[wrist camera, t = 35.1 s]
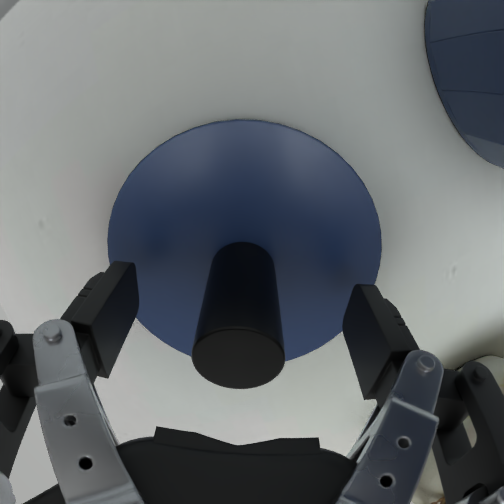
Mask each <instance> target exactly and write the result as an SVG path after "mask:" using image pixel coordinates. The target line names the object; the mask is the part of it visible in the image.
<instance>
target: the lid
mask: <svg viewBox="0 0 504 504" xmlns="http://www.w3.org/2000/svg"><path fill="white" fill-rule="evenodd" d="M107 242H108V257H109V262H110V265H111V264H112V262H113V261H124V262H133V263H134V264H135V266H136V273H137V282H138V291H139V309H138V313H137V316H136V318H137V319H138V320H139V321H140V323H141V324H142V325H143V326H144V327H146V328H147V329H148V330H149V331H150V332H151V333H152V334H153V335H155V336H156V337H157V338H159V339H160V340H161V341H163V342H164V343H166V344H168V345H169V346H171V347H173V348H174V349H176V350H178V351H180V352H182V353H185V354H187V355H189V356H191V357H192V362H193V364H194V366H195V368H196V370H197V371H198V372H199V373H200V374H201V375H202V376H203V377H204V378H205V379H207V380H208V381H210V382H212V383H214V384H217V385H219V386H223V387H227V388H233V389H248V388H254V387H258V386H261V385H264V384H266V383H268V382H270V381H271V380H273V379H274V378H275V377H276V376H278V374H279V373H280V372H281V370H282V369H283V367H284V364H285V361H288V360H292V359H295V358H297V357H300V356H303V355H305V354H307V353H309V352H311V351H313V350H315V349H317V348H319V347H321V346H322V345H324V344H325V343H327V342H329V341H330V340H332V339H333V338H334V337H335V336H337V335H338V334H339V333H340V332H341V331H343V329H342V323H343V317H344V314H345V311H346V308H347V305H348V302H349V299H350V296H351V293H352V290H353V287H354V286H355V284H368V285H374V284H375V281H376V278H377V274H378V270H379V266H380V259H381V250H382V247H381V230H380V224H379V219H378V215H377V212H376V209H375V206H374V203H373V200H372V198H371V196H370V194H369V192H368V190H367V188H366V187H365V185H364V183H363V182H362V180H361V179H360V177H359V176H358V175H357V173H356V172H355V171H354V169H353V168H352V167H351V166H350V165H349V164H348V163H347V162H346V161H345V160H344V159H343V158H342V157H341V156H340V155H339V154H338V153H336V152H335V151H334V150H332V149H331V148H330V147H328V146H327V145H325V144H324V143H323V142H321V141H319V140H318V139H316V138H314V137H312V136H310V135H308V134H306V133H304V132H302V131H300V130H297V129H294V128H291V127H288V126H285V125H282V124H279V123H274V122H268V121H262V120H249V119H234V120H225V121H217V122H212V123H209V124H205V125H201V126H198V127H194V128H192V129H190V130H187V131H185V132H183V133H180V134H178V135H176V136H174V137H172V138H170V139H169V140H167V141H166V142H164V143H163V144H161V145H159V146H158V147H156V148H155V149H154V150H153V151H152V152H151V153H149V154H148V155H147V156H146V157H145V158H144V159H143V160H141V162H140V163H139V164H138V165H137V166H136V167H135V169H134V170H133V171H132V172H131V173H130V175H129V176H128V178H127V179H126V181H125V183H124V184H123V186H122V188H121V189H120V191H119V193H118V196H117V198H116V201H115V203H114V206H113V209H112V213H111V217H110V221H109V228H108V239H107Z"/></svg>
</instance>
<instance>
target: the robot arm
mask: <svg viewBox="0 0 504 504" xmlns="http://www.w3.org/2000/svg"><path fill="white" fill-rule="evenodd" d="M138 309H139V291H138V282H137V273H136V266H135V264H134V263H133V262H124V261H113V262H112V264H111V265H110V266H109V268H108V269H107V270H106V272H105V273H104V272H100V273H98V274H97V275H95V276H94V277H92V278H91V279H90V280H89V281H88V282H87V283H86V285H85V286H84V287H83V289H82V290H81V291H80V292H79V294H78V296H76V298H75V299H74V300H73V302H72V303H71V304H70V306H69V307H68V309H67V310H66V311H65V313H64V314H63V315H62V317H61V318H60V319H54V320H49V321H47V322H44V323H43V324H41V325H40V326H39V327H38V328H37V329H36V330H35V332H34V334H15V332H14V329H13V327H12V325H11V324H10V323H9V322H8V321H4V320H0V379H1V380H2V382H3V386H2V388H1V390H0V504H15V502H16V500H15V496H14V495H13V493H12V492H13V491H12V486H11V483H10V482H9V480H8V479H9V476H10V473H11V470H12V467H13V464H14V461H15V458H16V455H17V452H18V449H19V447H20V444H21V441H22V439H23V436H24V433H25V431H26V428H27V426H28V423H29V421H30V418H31V416H32V414H33V411H34V409H35V407H36V405H37V410H38V414H39V419H40V423H41V427H42V431H43V435H44V439H45V443H46V446H47V450H48V453H49V456H50V460H51V463H52V466H53V469H54V472H55V475H56V478H57V481H58V484H56V485H55V486H53V487H51V488H50V489H48V490H46V491H44V492H43V493H41V494H39V495H38V496H36V497H34V498H32V499H30V500H29V501H27V502H25V503H23V504H410V502H411V500H412V498H413V495H414V493H415V491H416V488H417V486H418V483H419V481H420V478H421V476H422V473H423V470H424V468H425V465H426V462H427V459H428V456H429V453H430V450H431V447H432V450H433V454H434V457H435V461H436V465H437V468H438V472H439V476H440V480H441V484H442V488H443V493H444V497H445V502H446V504H504V395H503V393H502V391H501V389H500V387H499V385H498V384H497V382H496V380H495V378H494V376H493V374H492V373H491V371H490V370H489V369H488V368H487V367H486V366H485V365H483V364H482V363H480V362H477V361H469V362H467V363H465V365H464V366H463V368H462V369H461V371H460V372H459V371H454V370H448V369H443V366H442V364H441V362H440V361H439V359H438V358H437V357H436V356H434V355H433V354H431V353H429V352H427V351H423V350H420V349H419V347H418V345H417V343H416V342H415V340H414V338H413V336H412V334H411V333H410V331H409V329H408V327H407V326H405V322H404V320H403V318H401V315H400V313H399V311H398V310H397V308H396V307H395V306H394V305H393V304H392V303H391V302H390V301H389V300H387V299H384V298H383V297H382V295H381V293H380V291H379V290H378V288H377V286H376V285H368V284H355V286H354V287H353V290H352V293H351V296H350V299H349V302H348V305H347V308H346V311H345V314H344V317H343V323H342V329H343V334H344V337H345V340H346V343H347V346H348V349H349V353H350V356H351V359H352V362H353V365H354V368H355V372H356V375H357V378H358V381H359V385H360V388H361V391H362V395H363V398H364V400H368V399H376V400H377V403H378V404H377V405H376V407H375V408H374V410H373V412H372V414H371V415H370V417H369V419H368V421H367V423H366V425H365V427H364V428H363V430H362V432H361V434H360V436H359V437H358V439H357V441H356V443H355V444H354V446H353V447H352V449H351V450H350V452H349V453H348V455H347V456H346V457H345V456H343V455H341V454H339V453H336V452H334V451H330V450H327V449H323V448H320V444H319V438H279V439H274V440H269V441H264V442H258V443H253V444H247V445H233V444H230V443H226V442H223V441H220V440H217V439H214V438H210V437H207V436H204V435H202V434H199V433H196V432H188V431H181V430H175V429H168V428H163V427H157V426H156V431H155V435H154V437H144V438H138V439H134V440H130V441H127V442H125V443H122V444H120V443H119V441H118V439H117V437H116V435H115V433H114V431H113V429H112V427H111V425H110V423H109V420H108V418H107V416H106V413H105V411H104V408H103V406H102V403H101V401H100V398H99V396H98V393H97V391H96V388H95V386H94V381H95V379H96V377H97V376H99V377H104V378H109V375H110V373H111V371H112V368H113V366H114V364H115V362H116V359H117V357H118V355H119V352H120V350H121V348H122V346H123V344H124V341H125V339H126V337H127V335H128V333H129V330H130V328H131V326H132V324H133V322H134V320H135V318H136V316H137V313H138ZM468 416H470V419H471V421H472V424H473V426H474V429H475V431H476V436H477V438H476V443H475V445H474V446H473V448H472V446H471V443H470V441H469V438H468V435H467V432H466V430H465V427H464V424H463V421H464V420H465V419H466V418H467V417H468Z"/></svg>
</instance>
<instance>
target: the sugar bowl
mask: <svg viewBox="0 0 504 504" xmlns="http://www.w3.org/2000/svg"><path fill="white" fill-rule="evenodd" d="M474 361H477V362H480V363H482V364H483V365H485V366H486V367H487V368H488V369H489V370H490V371H491V373H492V374H493V376H494V378H495V380H496V382H497V384H498V385H499V387H500V389H501V391H502V393H503V395H504V358H500V357H496V356H493V355H491V356H485V357H482V358H478V359H476V360H474ZM462 368H463V367H462ZM462 368H460V369H459V370H457V371H459V372H460V371H461V369H462ZM463 424H464V427H465V430H466V432H467V435H468V438H469V441H470V443H471V446H472V448H473V446H474V445H475V443H476V438H477V436H476V431H475V429H474V426H473V424H472V421H471V419H470V416H468V417H467V418H466V419H465V420H464V421H463ZM411 501H412V502H413V503H414V504H446V502H445V497H444V493H443V488H442V484H441V480H440V476H439V472H438V468H437V465H436V461H435V457H434V454H433V450H432V447H431V450H430V453H429V456H428V459H427V462H426V465H425V468H424V470H423V473H422V476H421V478H420V481H419V483H418V486H417V488H416V491H415V493H414V495H413V498H412V500H411Z"/></svg>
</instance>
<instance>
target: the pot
mask: <svg viewBox="0 0 504 504" xmlns="http://www.w3.org/2000/svg"><path fill="white" fill-rule="evenodd" d="M425 41H426V49H427V55H428V60H429V64H430V69H431V72H432V75H433V79H434V82H435V85H436V88H437V90H438V93H439V96H440V98H441V100H442V103H443V105H444V107H445V109H446V111H447V113H448V115H449V117H450V119H451V121H452V122H453V124H454V126H455V127H456V129H457V130H458V132H459V133H460V135H461V136H462V137H463V139H464V140H465V141H466V142H467V144H468V145H469V146H470V147H471V148H472V149H473V150H474V151H475V152H476V153H477V154H478V155H480V156H481V157H482V158H484V159H485V160H486V161H488V162H490V163H492V164H494V165H496V166H499V167H501V168H503V169H504V0H429V1H428V5H427V9H426V16H425Z"/></svg>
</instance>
